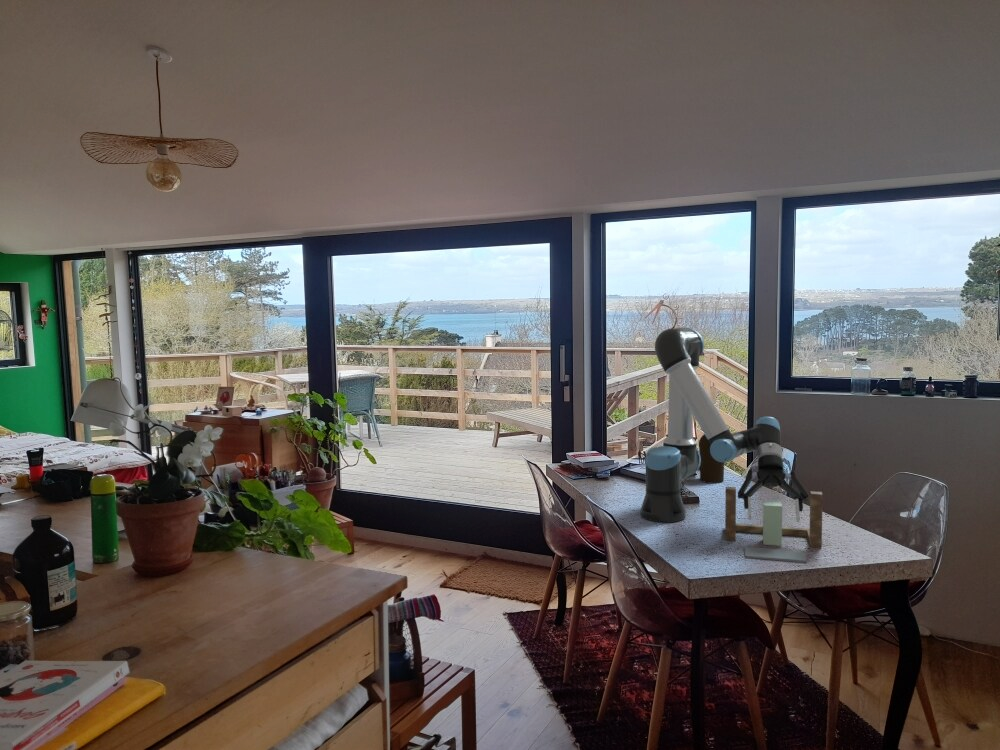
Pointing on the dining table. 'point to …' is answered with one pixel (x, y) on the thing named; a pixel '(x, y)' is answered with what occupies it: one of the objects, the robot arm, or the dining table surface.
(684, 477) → the robot arm
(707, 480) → the olive oil
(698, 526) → the dining table surface
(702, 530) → the dining table surface
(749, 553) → the mat
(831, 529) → the dining table surface
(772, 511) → the tall green square pillar
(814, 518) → the frame
